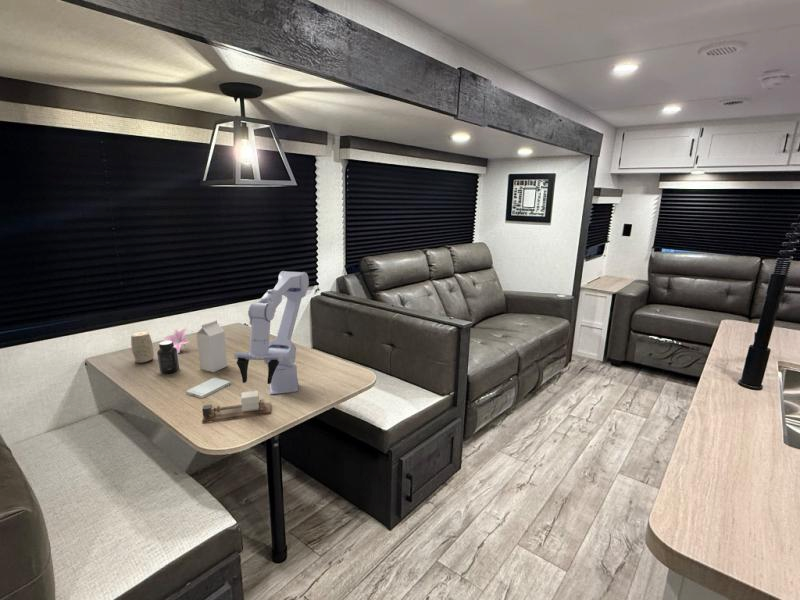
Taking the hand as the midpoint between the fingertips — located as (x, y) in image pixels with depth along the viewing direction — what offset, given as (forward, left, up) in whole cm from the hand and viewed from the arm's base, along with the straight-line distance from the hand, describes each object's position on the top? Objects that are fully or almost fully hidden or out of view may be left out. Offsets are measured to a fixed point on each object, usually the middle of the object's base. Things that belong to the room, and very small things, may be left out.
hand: (256, 382), depth 132 cm
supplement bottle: (+33, -41, -10) cm, 54 cm away
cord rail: (+6, 0, -10) cm, 12 cm away
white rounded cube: (+2, 0, -9) cm, 9 cm away
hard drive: (+17, -21, -11) cm, 30 cm away
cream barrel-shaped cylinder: (+45, -55, -10) cm, 72 cm away
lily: (+34, -65, -10) cm, 74 cm away
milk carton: (+17, -40, -10) cm, 45 cm away
